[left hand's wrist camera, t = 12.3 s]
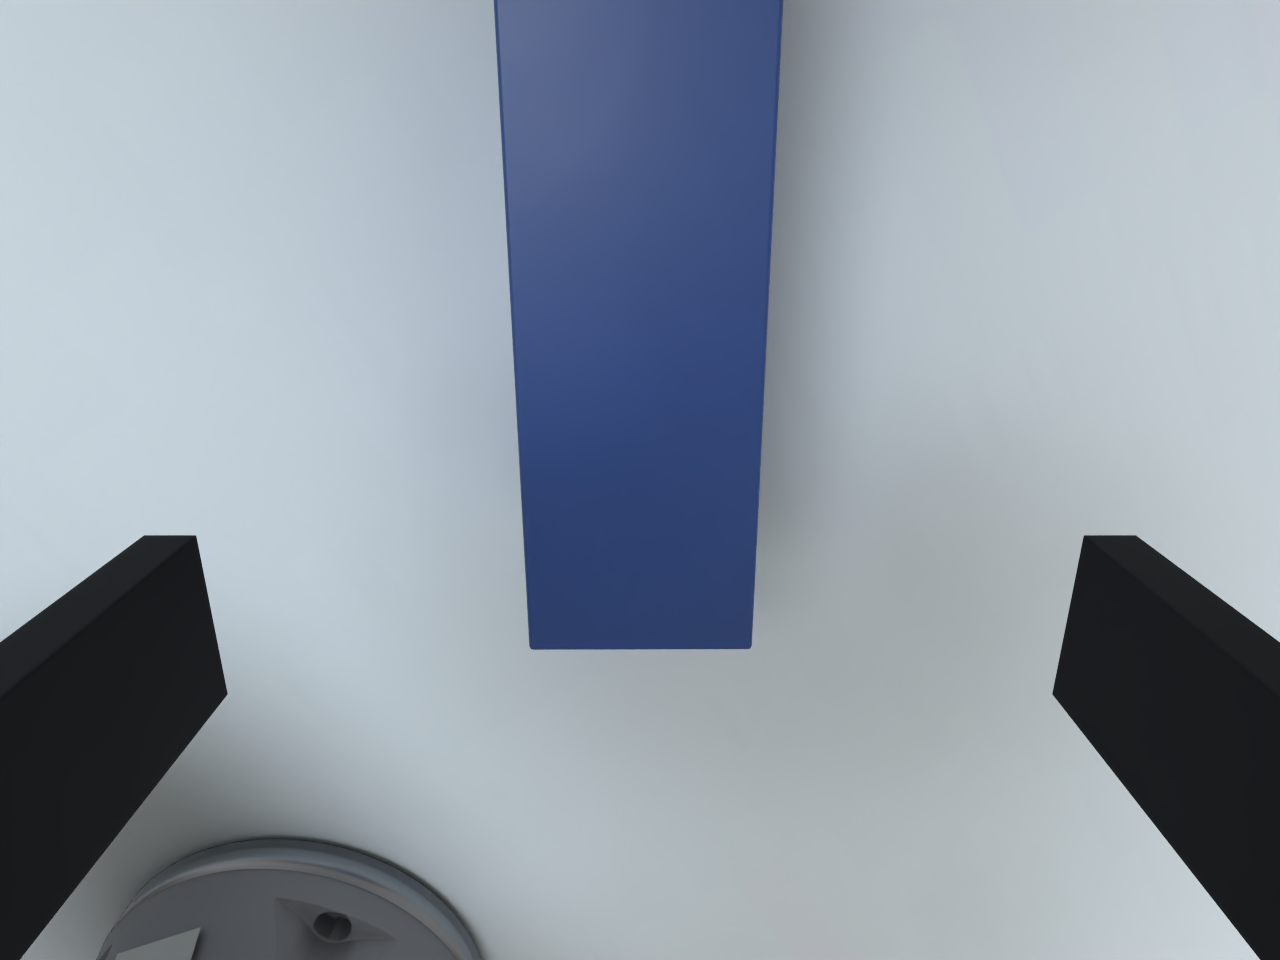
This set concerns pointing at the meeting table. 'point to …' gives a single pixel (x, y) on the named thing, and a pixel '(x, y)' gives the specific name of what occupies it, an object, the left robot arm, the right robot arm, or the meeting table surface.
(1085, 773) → the meeting table surface
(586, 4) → the blue block
